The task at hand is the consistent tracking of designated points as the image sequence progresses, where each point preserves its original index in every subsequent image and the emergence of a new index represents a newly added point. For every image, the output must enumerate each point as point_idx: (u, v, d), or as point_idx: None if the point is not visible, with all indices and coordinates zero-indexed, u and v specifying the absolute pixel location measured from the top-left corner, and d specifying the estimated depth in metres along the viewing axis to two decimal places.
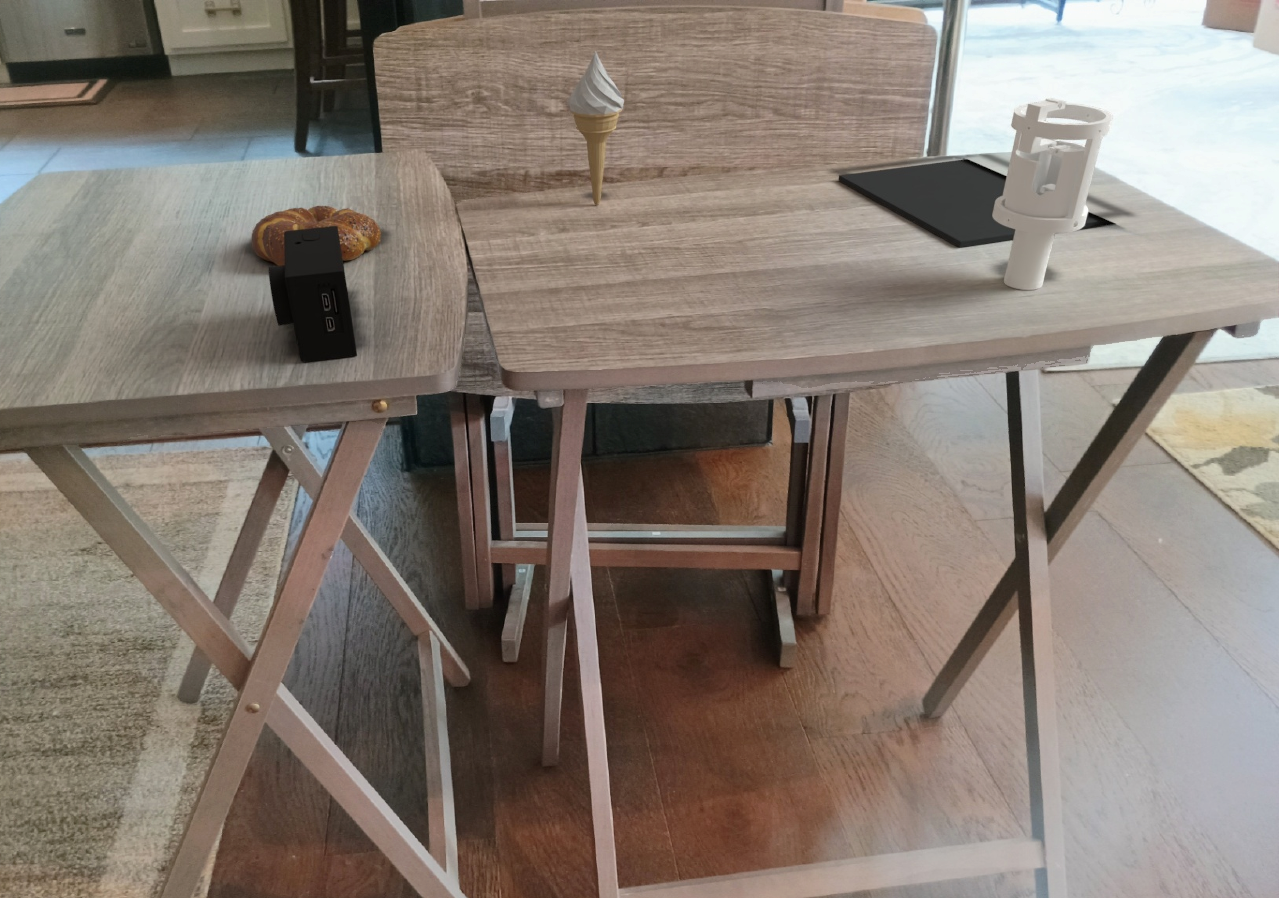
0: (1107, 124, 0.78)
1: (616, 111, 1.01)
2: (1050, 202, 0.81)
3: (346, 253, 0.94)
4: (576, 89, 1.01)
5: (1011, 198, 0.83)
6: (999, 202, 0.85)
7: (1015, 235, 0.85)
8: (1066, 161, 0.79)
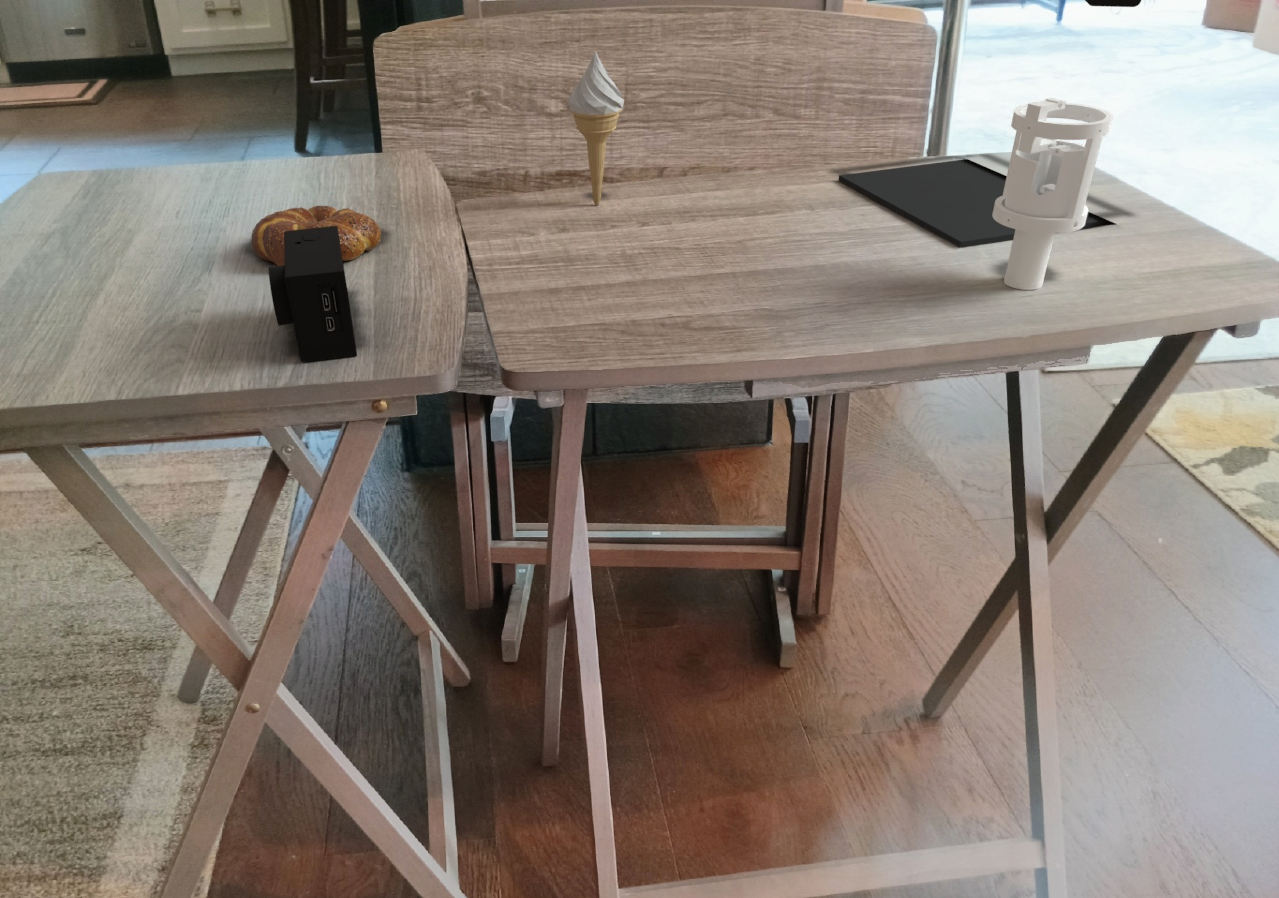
0: (1107, 124, 0.78)
1: (616, 111, 1.01)
2: (1050, 202, 0.81)
3: (346, 253, 0.94)
4: (576, 89, 1.01)
5: (1011, 198, 0.83)
6: (999, 202, 0.85)
7: (1015, 235, 0.85)
8: (1066, 161, 0.79)
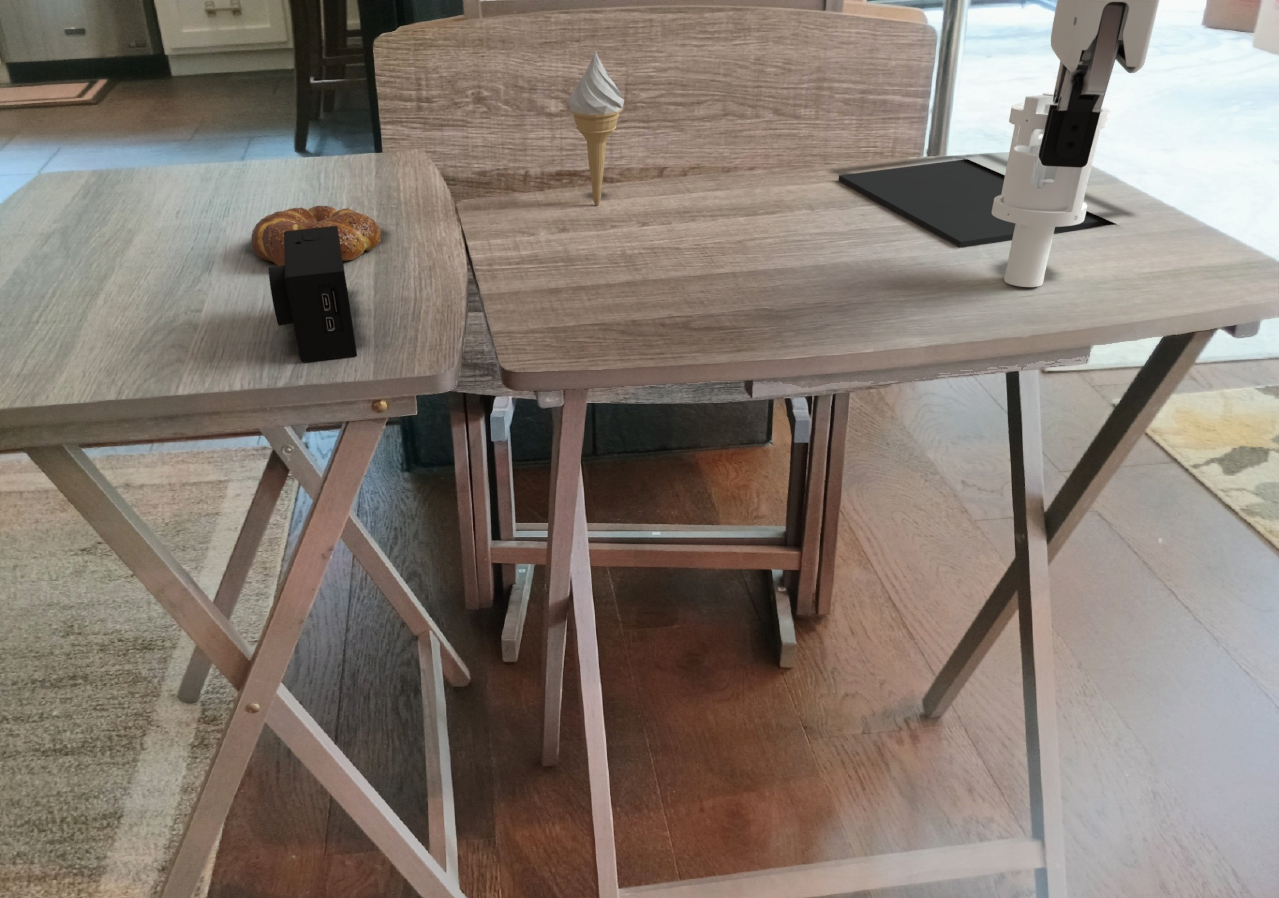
0: (1104, 117, 0.78)
1: (616, 111, 1.01)
2: (1049, 195, 0.81)
3: (346, 253, 0.94)
4: (576, 89, 1.01)
5: (1010, 193, 0.83)
6: (998, 199, 0.85)
7: (1015, 232, 0.85)
8: None
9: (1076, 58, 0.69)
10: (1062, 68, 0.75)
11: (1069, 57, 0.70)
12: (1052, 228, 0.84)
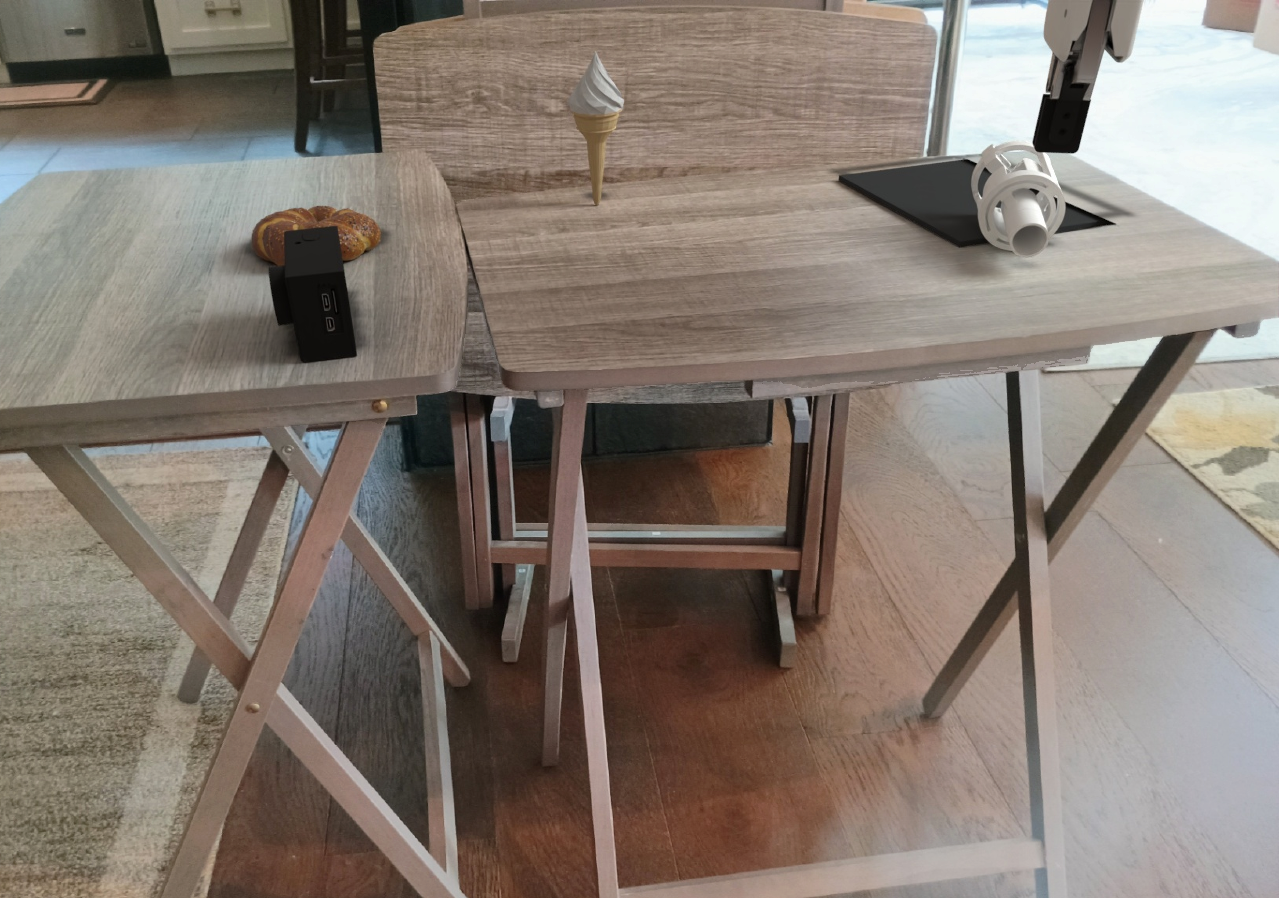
0: (1049, 159, 0.95)
1: (616, 111, 1.01)
2: None
3: (346, 253, 0.94)
4: (576, 89, 1.01)
5: None
6: None
7: (1006, 216, 0.90)
8: (1027, 161, 0.93)
9: (1067, 48, 0.73)
10: (1054, 58, 0.78)
11: (1060, 47, 0.73)
12: (1039, 207, 0.90)
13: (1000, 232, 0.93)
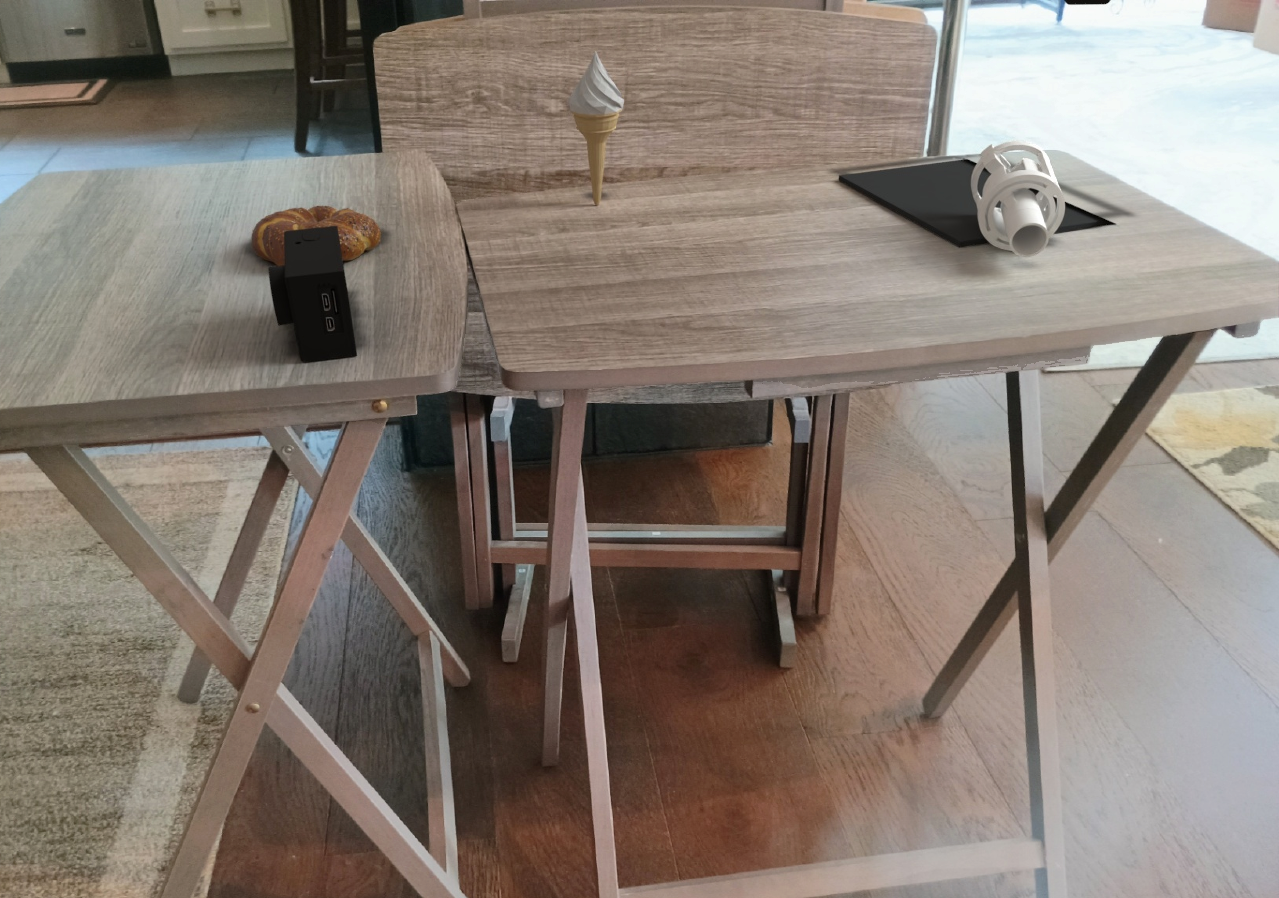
0: None
1: (616, 111, 1.01)
2: None
3: (346, 253, 0.94)
4: (576, 89, 1.01)
5: None
6: None
7: (1006, 216, 0.90)
8: (1027, 160, 0.93)
9: None
10: None
11: None
12: (1039, 207, 0.90)
13: (1000, 232, 0.93)
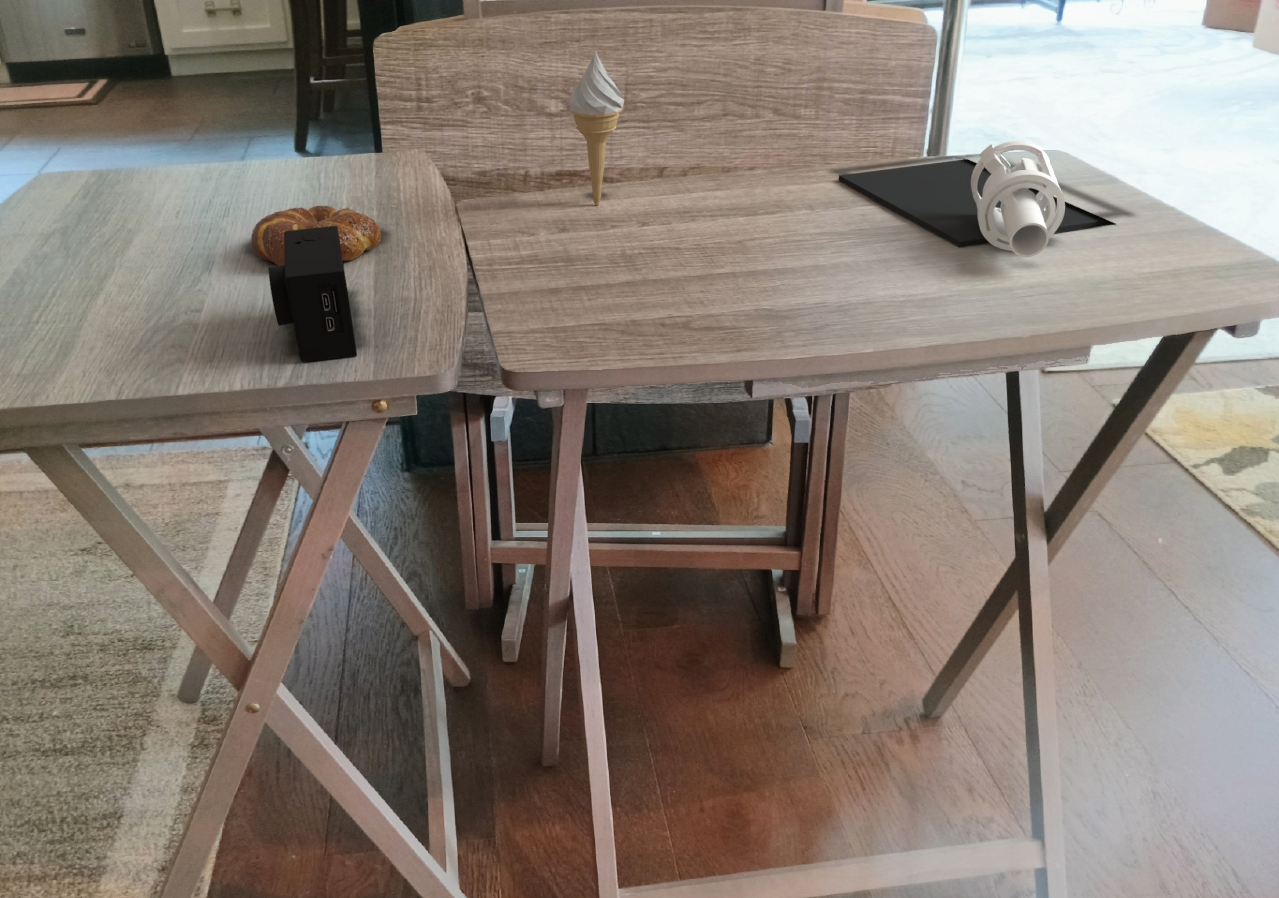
0: None
1: (616, 111, 1.01)
2: None
3: (346, 253, 0.94)
4: (576, 89, 1.01)
5: None
6: None
7: (1006, 216, 0.90)
8: (1027, 160, 0.93)
9: None
10: None
11: None
12: (1039, 207, 0.90)
13: (1000, 232, 0.93)
